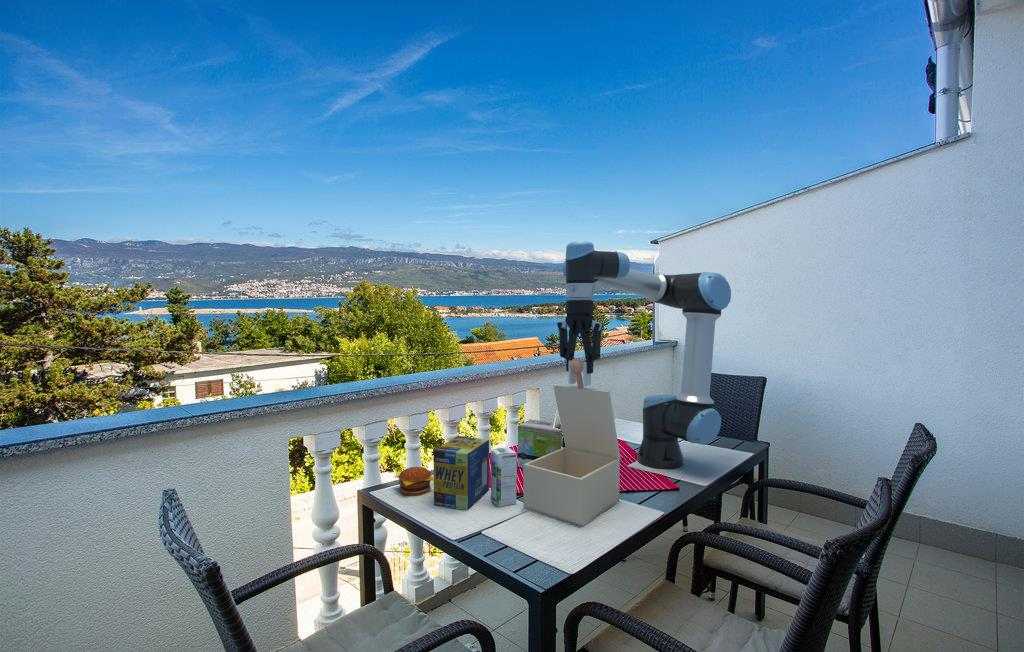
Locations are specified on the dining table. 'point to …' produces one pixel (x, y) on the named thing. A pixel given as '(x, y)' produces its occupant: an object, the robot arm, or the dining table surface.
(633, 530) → the dining table surface
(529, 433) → the tea box
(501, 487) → the syrup box
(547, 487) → the carton
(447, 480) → the protein box
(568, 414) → the lid
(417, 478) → the hamburger
